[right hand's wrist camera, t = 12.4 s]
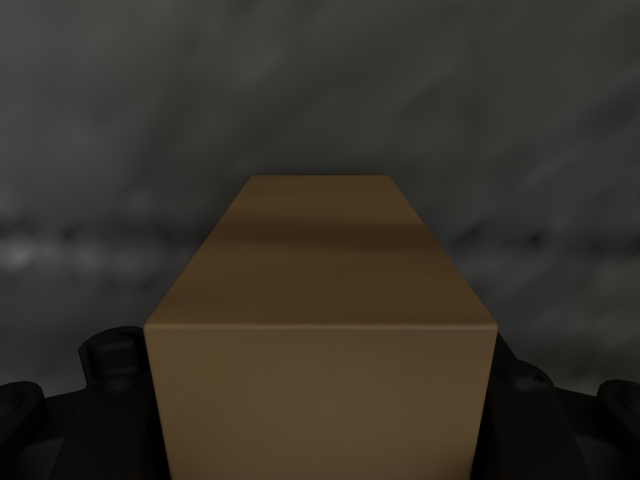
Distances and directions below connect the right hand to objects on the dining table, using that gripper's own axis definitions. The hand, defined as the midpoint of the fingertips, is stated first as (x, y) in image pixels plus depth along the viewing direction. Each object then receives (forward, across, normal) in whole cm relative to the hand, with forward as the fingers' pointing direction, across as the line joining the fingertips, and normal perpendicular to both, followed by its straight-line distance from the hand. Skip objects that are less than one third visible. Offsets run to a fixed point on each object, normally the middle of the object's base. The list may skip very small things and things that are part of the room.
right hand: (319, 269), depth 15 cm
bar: (+1, 0, -9) cm, 9 cm away
